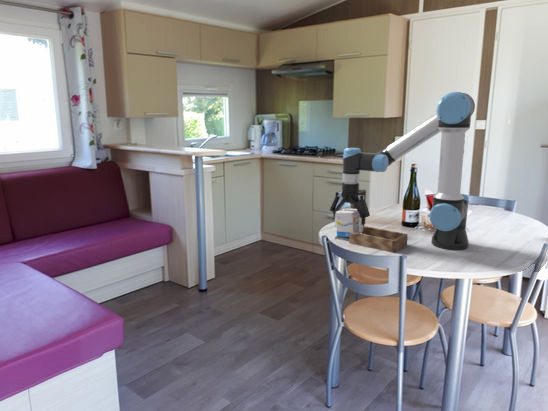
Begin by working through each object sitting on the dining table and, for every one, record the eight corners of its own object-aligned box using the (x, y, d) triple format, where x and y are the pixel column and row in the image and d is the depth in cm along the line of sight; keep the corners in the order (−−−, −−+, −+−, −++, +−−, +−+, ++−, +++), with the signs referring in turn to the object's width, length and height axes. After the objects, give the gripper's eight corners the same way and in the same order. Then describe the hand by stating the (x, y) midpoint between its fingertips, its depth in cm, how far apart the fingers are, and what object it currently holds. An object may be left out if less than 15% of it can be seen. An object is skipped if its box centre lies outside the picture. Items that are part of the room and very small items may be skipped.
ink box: (353, 237, 198) (352, 212, 196) (336, 236, 203) (335, 211, 201) (361, 233, 205) (359, 208, 203) (344, 232, 210) (342, 208, 208)
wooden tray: (406, 244, 194) (407, 234, 193) (394, 252, 184) (395, 241, 183) (363, 236, 207) (363, 225, 205) (349, 243, 196) (349, 232, 195)
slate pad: (361, 236, 206) (361, 234, 206) (350, 241, 198) (350, 239, 198) (346, 233, 211) (346, 231, 211) (335, 238, 203) (335, 236, 203)
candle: (363, 232, 212) (366, 191, 208) (348, 231, 214) (350, 191, 209) (364, 228, 220) (366, 188, 215) (349, 227, 221) (350, 188, 217)
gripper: (379, 184, 194) (376, 231, 199) (331, 178, 209) (330, 222, 214) (371, 186, 189) (368, 235, 193) (323, 180, 203) (322, 226, 208)
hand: (348, 228), depth 204 cm, fingers open, 12 cm apart
